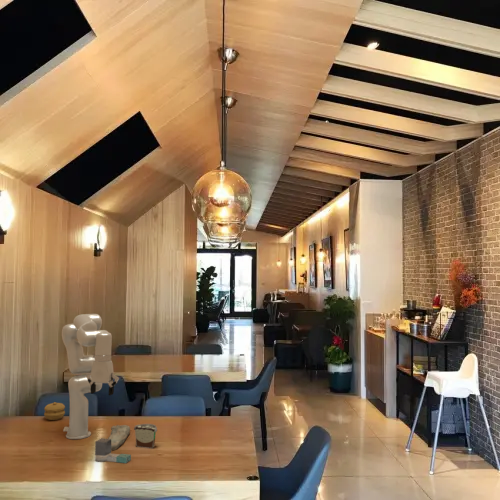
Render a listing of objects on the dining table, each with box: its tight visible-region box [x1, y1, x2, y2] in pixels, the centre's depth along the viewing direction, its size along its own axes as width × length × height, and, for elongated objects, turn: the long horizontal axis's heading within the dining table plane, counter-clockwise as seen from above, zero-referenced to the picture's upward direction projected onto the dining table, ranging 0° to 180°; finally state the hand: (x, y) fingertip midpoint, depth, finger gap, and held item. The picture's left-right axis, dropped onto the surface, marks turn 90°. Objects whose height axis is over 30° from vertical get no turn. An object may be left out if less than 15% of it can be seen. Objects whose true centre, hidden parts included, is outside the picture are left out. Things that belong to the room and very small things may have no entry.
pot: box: [43, 401, 66, 421], centre depth 303 cm, size 12×12×10 cm
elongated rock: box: [107, 424, 131, 451], centre depth 263 cm, size 35×5×10 cm
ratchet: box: [94, 452, 132, 464], centre depth 233 cm, size 16×7×7 cm, turn 75°
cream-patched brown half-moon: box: [133, 423, 158, 450], centre depth 254 cm, size 12×6×10 cm, turn 71°
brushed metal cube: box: [94, 437, 112, 456], centre depth 235 cm, size 5×5×6 cm
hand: (102, 393), depth 244 cm, fingers open, 9 cm apart
